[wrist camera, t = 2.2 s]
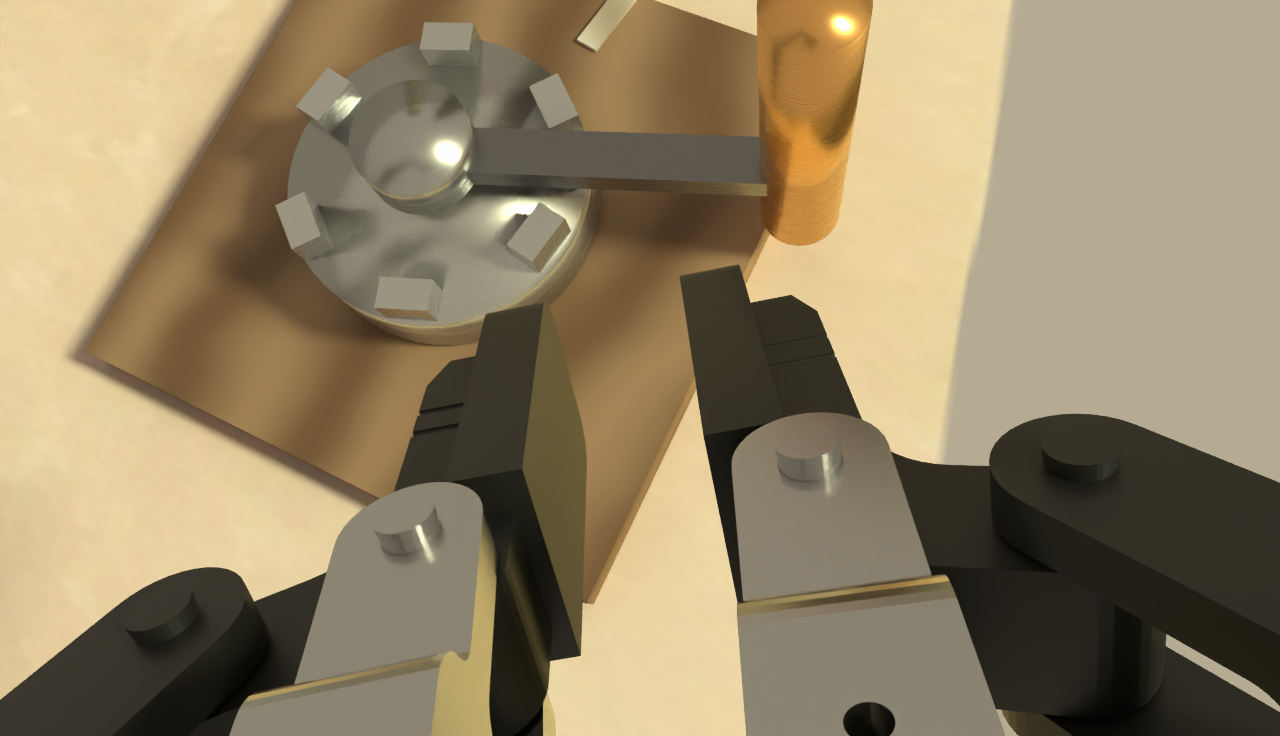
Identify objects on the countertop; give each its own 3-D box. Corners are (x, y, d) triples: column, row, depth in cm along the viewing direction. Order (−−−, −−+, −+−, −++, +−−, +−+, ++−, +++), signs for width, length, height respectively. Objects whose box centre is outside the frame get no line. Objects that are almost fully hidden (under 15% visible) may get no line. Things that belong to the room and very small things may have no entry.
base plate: (106, 360, 44) (81, 349, 43) (371, -80, 49) (358, -105, 47) (593, 603, 39) (586, 601, 37) (840, 84, 44) (843, 63, 42)
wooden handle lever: (295, 335, 42) (66, 184, 28) (346, 74, 45) (161, -177, 31) (829, 370, 39) (862, 219, 25) (844, 87, 42) (881, -186, 28)
